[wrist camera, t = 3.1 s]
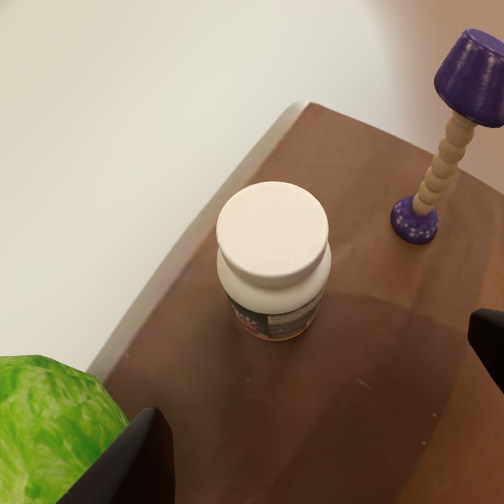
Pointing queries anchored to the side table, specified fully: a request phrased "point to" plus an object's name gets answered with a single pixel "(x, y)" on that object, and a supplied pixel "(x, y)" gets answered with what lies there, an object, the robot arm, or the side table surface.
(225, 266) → the pill bottle
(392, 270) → the side table surface
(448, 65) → the toy lamp
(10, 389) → the lettuce
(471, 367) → the side table surface
